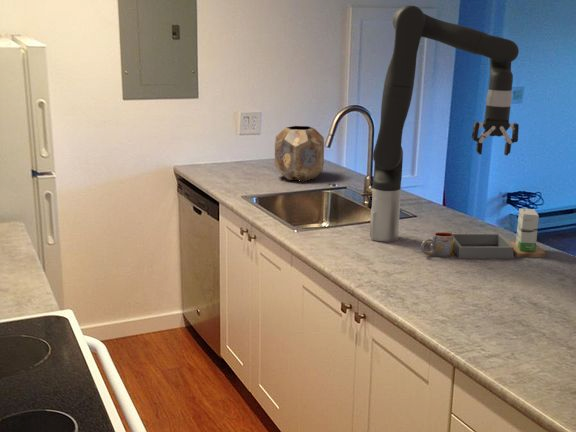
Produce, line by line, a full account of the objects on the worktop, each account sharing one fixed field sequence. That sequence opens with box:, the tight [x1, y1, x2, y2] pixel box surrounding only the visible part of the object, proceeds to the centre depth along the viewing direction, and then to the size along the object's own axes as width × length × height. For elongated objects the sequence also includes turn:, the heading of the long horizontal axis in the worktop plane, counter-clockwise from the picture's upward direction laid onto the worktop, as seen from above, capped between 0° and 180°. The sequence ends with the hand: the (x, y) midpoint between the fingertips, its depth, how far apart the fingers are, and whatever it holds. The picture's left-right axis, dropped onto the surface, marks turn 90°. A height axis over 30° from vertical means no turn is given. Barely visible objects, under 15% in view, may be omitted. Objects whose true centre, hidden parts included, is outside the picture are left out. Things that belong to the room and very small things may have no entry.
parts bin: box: [452, 233, 514, 259], centre depth 222 cm, size 17×15×4 cm
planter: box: [274, 125, 325, 182], centre depth 322 cm, size 22×24×24 cm
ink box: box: [515, 207, 540, 251], centre depth 220 cm, size 9×5×12 cm, turn 171°
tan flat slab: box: [508, 241, 547, 258], centre depth 222 cm, size 9×12×1 cm
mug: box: [420, 232, 455, 258], centre depth 217 cm, size 12×7×7 cm, turn 114°
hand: (492, 154), depth 226 cm, fingers open, 8 cm apart
